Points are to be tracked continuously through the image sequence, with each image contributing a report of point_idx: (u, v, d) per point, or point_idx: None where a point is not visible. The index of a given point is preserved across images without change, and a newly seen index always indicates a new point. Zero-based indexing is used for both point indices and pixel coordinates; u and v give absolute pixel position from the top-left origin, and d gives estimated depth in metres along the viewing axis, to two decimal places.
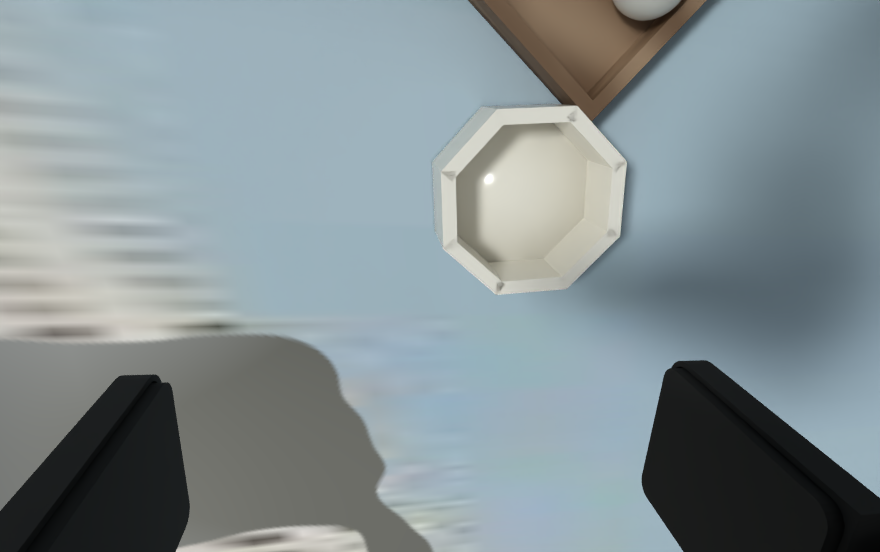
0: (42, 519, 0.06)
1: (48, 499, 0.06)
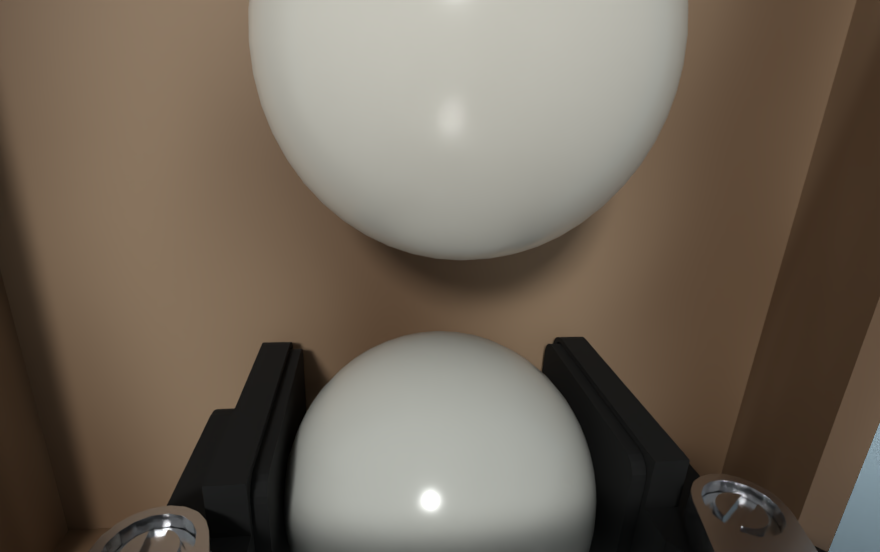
0: (257, 445, 0.07)
1: (254, 432, 0.07)
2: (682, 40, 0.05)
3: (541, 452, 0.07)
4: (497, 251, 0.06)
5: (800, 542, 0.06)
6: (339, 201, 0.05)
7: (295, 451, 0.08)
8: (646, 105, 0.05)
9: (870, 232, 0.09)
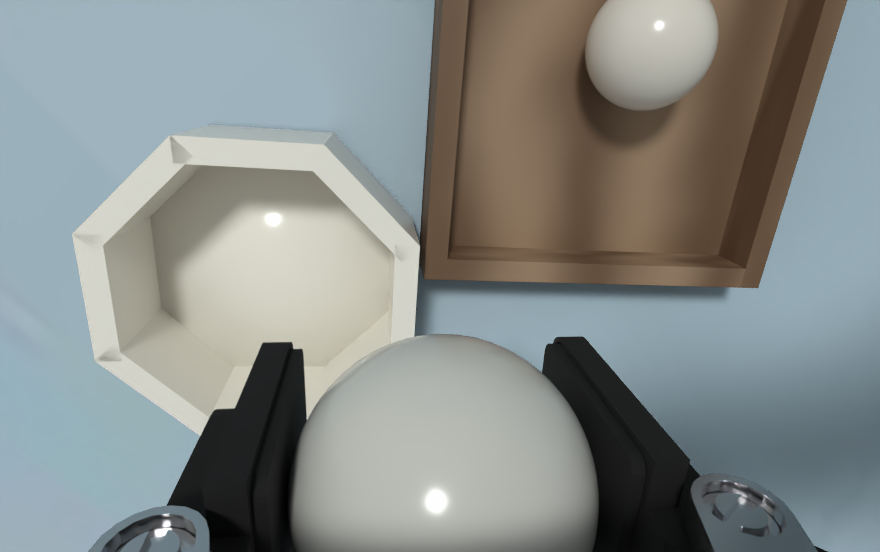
0: (258, 445, 0.07)
1: (254, 431, 0.07)
2: (717, 42, 0.19)
3: (544, 456, 0.07)
4: (661, 101, 0.20)
5: (800, 542, 0.06)
6: (621, 84, 0.20)
7: (299, 454, 0.08)
8: (707, 58, 0.19)
9: (781, 118, 0.23)
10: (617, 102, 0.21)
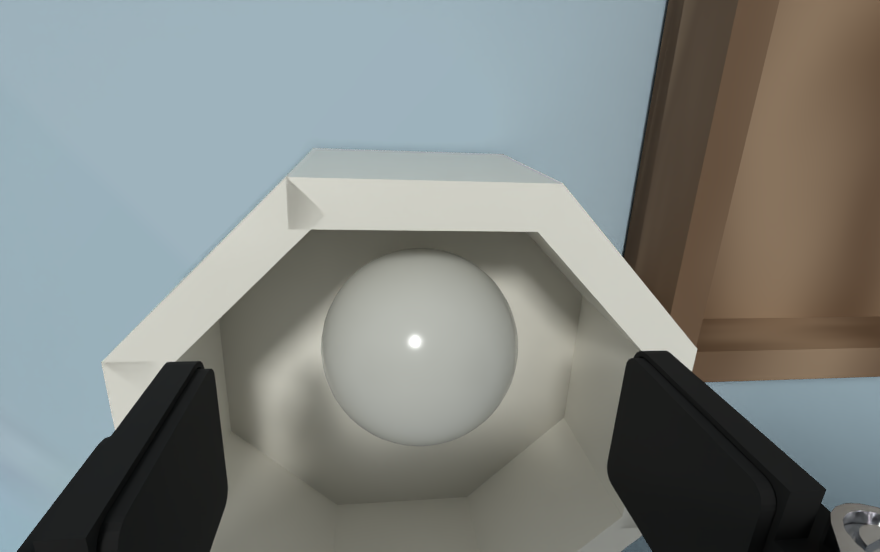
0: (117, 488, 0.06)
1: (119, 470, 0.06)
2: None
3: (480, 304, 0.11)
4: None
5: None
6: None
7: (330, 317, 0.12)
8: None
9: None
10: None
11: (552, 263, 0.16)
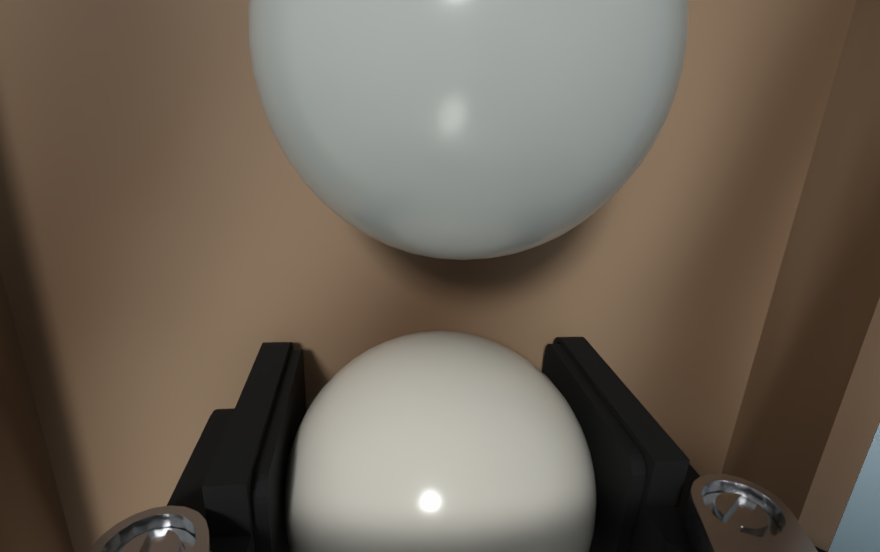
0: (257, 445, 0.07)
1: (254, 432, 0.07)
2: (587, 547, 0.07)
3: None
4: None
5: (800, 542, 0.06)
6: None
7: None
8: None
9: None
10: None
11: None
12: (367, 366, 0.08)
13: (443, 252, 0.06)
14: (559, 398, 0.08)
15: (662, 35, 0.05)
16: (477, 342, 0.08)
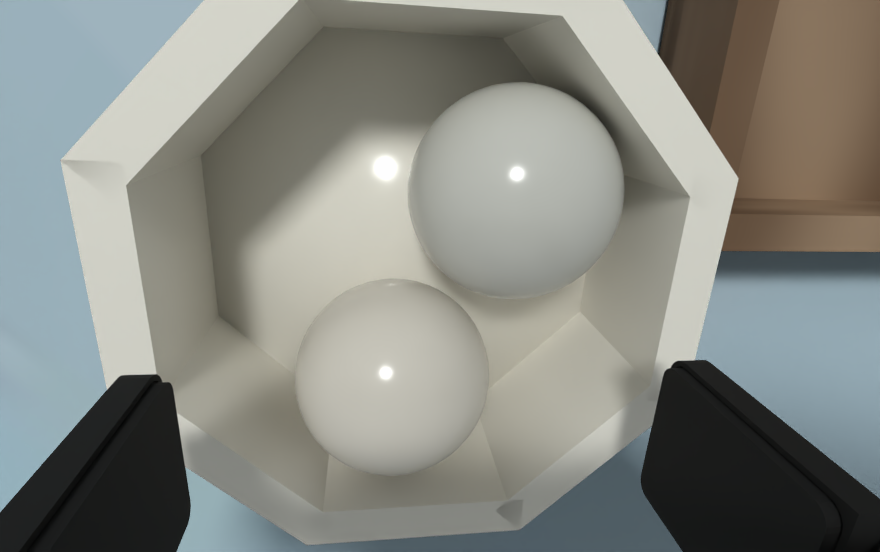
0: (44, 518, 0.06)
1: (50, 498, 0.06)
2: None
3: None
4: None
5: None
6: None
7: (490, 161, 0.10)
8: None
9: None
10: None
11: None
12: (329, 370, 0.11)
13: None
14: (446, 430, 0.12)
15: None
16: (403, 390, 0.11)
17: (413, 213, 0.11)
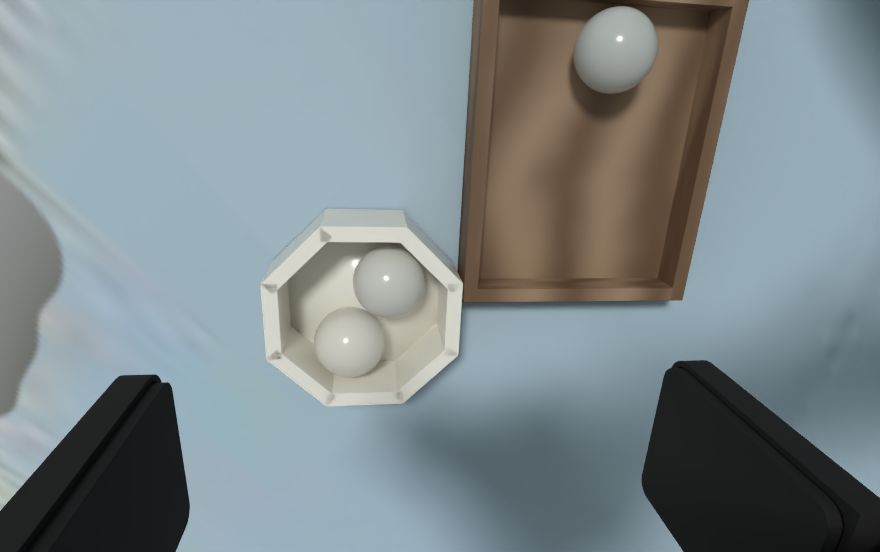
0: (42, 519, 0.06)
1: (48, 499, 0.06)
2: (360, 374, 0.36)
3: (416, 259, 0.35)
4: None
5: None
6: None
7: (367, 273, 0.33)
8: (356, 376, 0.36)
9: (688, 192, 0.37)
10: None
11: None
12: (322, 331, 0.35)
13: (613, 87, 0.31)
14: (357, 355, 0.34)
15: (653, 47, 0.30)
16: (343, 338, 0.34)
17: (353, 287, 0.35)
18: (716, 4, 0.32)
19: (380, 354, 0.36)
